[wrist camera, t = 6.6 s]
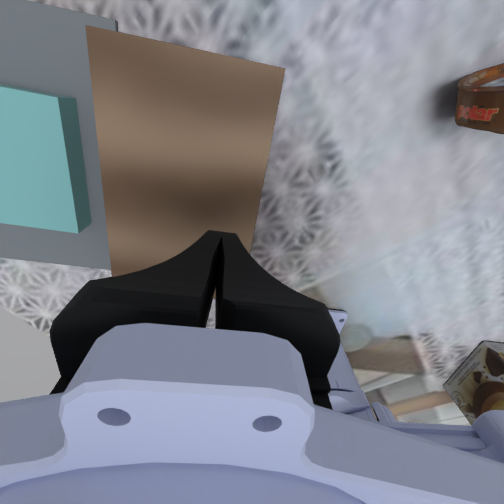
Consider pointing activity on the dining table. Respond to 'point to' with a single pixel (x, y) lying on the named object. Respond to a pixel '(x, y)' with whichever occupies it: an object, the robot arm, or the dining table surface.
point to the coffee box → (479, 381)
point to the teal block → (41, 161)
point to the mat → (78, 86)
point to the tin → (482, 100)
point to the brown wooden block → (177, 143)
